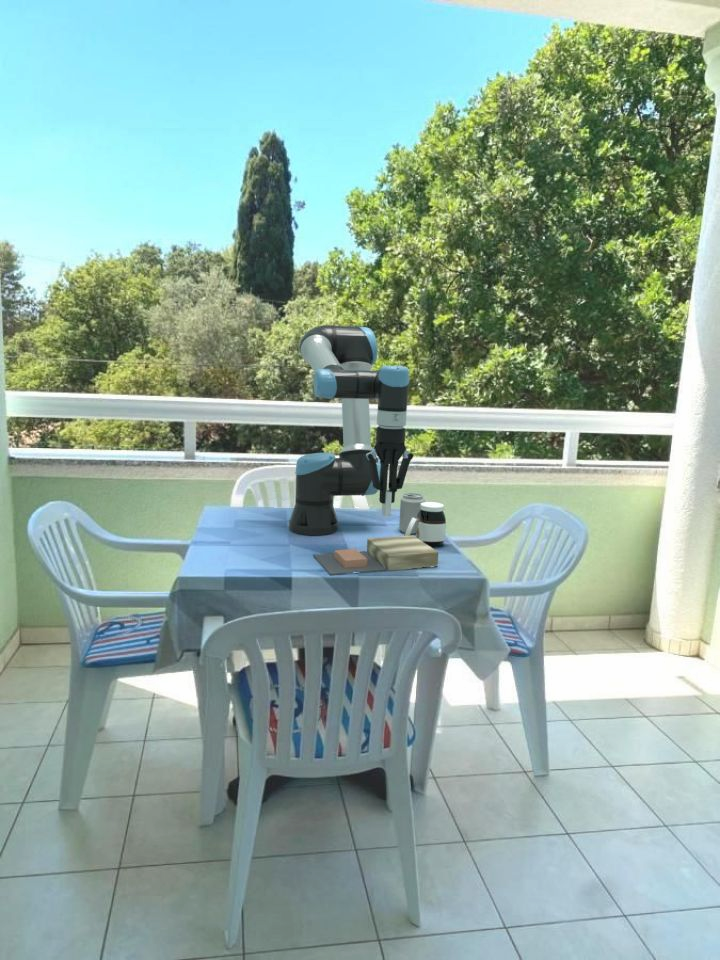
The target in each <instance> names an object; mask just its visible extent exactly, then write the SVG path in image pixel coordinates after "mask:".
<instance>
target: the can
mask: <svg viewBox="0 0 720 960" xmlns="http://www.w3.org/2000/svg"><path fill="white" fill-rule="evenodd" d="M423 502H426V500H425V498H424V494H421V493H419V492H405V493H403V495H402V497H401V498H400V506H399V523H398V525H399V526H398V529H399V530H400V531H401V532H402V533H403V534H405V533H406V530H407V528H408V526H409V523H410V521H411V519H412V518H415V519H417V514H418V512H419V511H420V510H421V509H420V506H421V503H423ZM416 524H417V521H416ZM416 524H415V526H414V528H413V531H412V533H411V535H416Z"/></svg>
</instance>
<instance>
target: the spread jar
mask: <svg viewBox="0 0 720 960" xmlns="http://www.w3.org/2000/svg"><path fill="white" fill-rule="evenodd" d="M420 509H421V510H420V511H419V512H418V514H417V519H415V518H412V519H411V521H410V523H409V526H408V528H407V530H406V533H404V534H403V536H412V534H411V533H412V531H413V528H414V526H415V524H416V521H417V524H416V534H415V537H416V538H418V539H419V540H421V541H422V542H424V543H425V544H427V545H428V546H430V547H439V546H441V545H443V544H444V542H445V538H446V528H447V519H446V515H445V512H444V510H445V505H444V504H443V503H441V502H435V501H425V502H423V503H421V506H420ZM438 545H439V546H438Z"/></svg>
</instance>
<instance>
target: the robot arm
mask: <svg viewBox="0 0 720 960" xmlns="http://www.w3.org/2000/svg"><path fill="white" fill-rule="evenodd" d="M299 353H300V356H301V358H302V359H303V360H304V361H305V363H306V364H308V365H309V366H310V367H311V369H312V370H313V373H314V374H313V393H314V395H315V397H317V398H320V399H328V400H331V399H341V416H342V437H343V438H342V439H343V441H342V442H343V448H342V449H341V450H340V451H339V452H338V457H336V456H335V454H334V453H332V452H316V453H308V454H305V455H302V456H300V457H299V458H298V459H297V460H296V465H295V466H296V468H295V472H294V473H295V495H294V496H295V502H294V503H295V504H294V505H293V506H294V507H293V509H292V513H291V515H290V519H289V524H288V529H289V530H290V531H291V532H293V533H296V534H300V535H307V536H326V535H330V534H334V533H336V532H337V531H338V530H339V521H338V517H337V515H336V511H335V507H334V497H336V496H343V497H344V496H345V497H346V496H362V497H363V496H373V495H376V494H377V493H378V492H379V498H378V499H379V503H380V504H381V514H382V515H383V516H384V517H391V515H392V513H391V512H392V504H394V503H395V499H396V498H395V497H396V493H397V491H398V490H401V489H403V487H404V483H405V479H406V476H407V473H408V469H409V466H410V462H411V461H412V460H413V458H414V454H413V453H412V452H410V451H408V450H407V447H406V445H405V441H406V432H407V431H406V428H405V427H406V425H407V412H408V411H407V410H408V399H409V398H408V397H409V396H408V395H409V384H410V371H409V368H408V367H407V366H402V365H401V366H400V365H382V366H380V367H379V369H376V370H372V368H373V365H374V364H375V363H376V362H377V360H378V342H377V338H376V335H375V332H373V330H372V329H371V328H370V327H363V326H359V325H356V326H353V325H352V326H351V325H350V326H349V325H330V324H323V325H321V324H320V325H317V326H314V327H313V328H311V329H309V330H308V331H307V332H306V333H305V334H304V335H303V336H302V337H301V339H300V343H299ZM370 400H377V415H376V425H377V427H376V429H375V430H376V431H375V432H376V434H375V444H374V446H373V447H372V438H371V420H370V419H371V417H370V416H371V415H370ZM401 458H402V460H401ZM400 460H401V462H400V466H399V461H400ZM398 466H399V469H398Z"/></svg>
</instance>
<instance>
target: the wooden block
mask: <svg viewBox="0 0 720 960" xmlns="http://www.w3.org/2000/svg"><path fill="white" fill-rule="evenodd" d="M366 541H367V542H366V552H367V553H368V554H369V555H370V556H371V557H373V558H374V559H375V560H376V561H377V562H378V563H380V564H381V565H382V566H384V567H385V569H387V570H386V571H388V572H390V571H389V570H392V571H402V570H403V571H404V570H413V569H412V568H417V569H423V568H422V567H429V568H432V567H431V566H439V565H438V564H439V551H438V550H436V549H434V548H433V547H432V546H428V545H427V544H425V543H424V542H422V541H421V540H419V539H418V538H416V535H410V536H404V535H403V536H401V535H400V536H385V537H369V538H368V537H367V539H366Z"/></svg>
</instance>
